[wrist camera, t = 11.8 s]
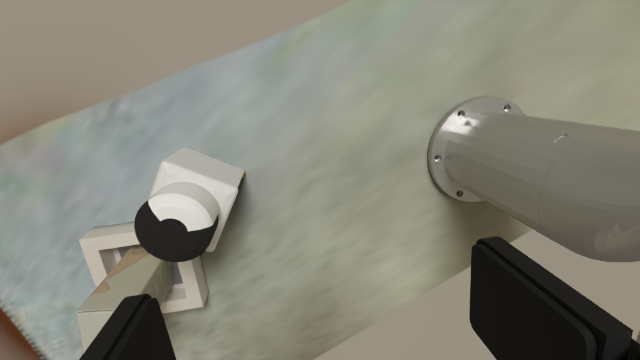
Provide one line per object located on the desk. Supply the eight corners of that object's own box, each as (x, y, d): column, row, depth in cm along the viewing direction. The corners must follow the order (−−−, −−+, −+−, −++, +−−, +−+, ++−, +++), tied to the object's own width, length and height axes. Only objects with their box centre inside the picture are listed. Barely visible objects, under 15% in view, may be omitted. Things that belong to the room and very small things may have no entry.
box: (132, 243, 37) (73, 308, 26) (172, 243, 37) (130, 307, 27) (136, 284, 38) (82, 361, 28) (175, 283, 39) (136, 359, 28)
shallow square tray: (189, 213, 38) (181, 224, 35) (208, 291, 41) (203, 306, 38) (94, 227, 37) (78, 239, 34) (121, 305, 40) (109, 322, 37)
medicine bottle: (224, 224, 38) (201, 284, 27) (163, 202, 37) (111, 257, 25) (246, 170, 37) (231, 209, 25) (183, 145, 35) (137, 175, 24)
